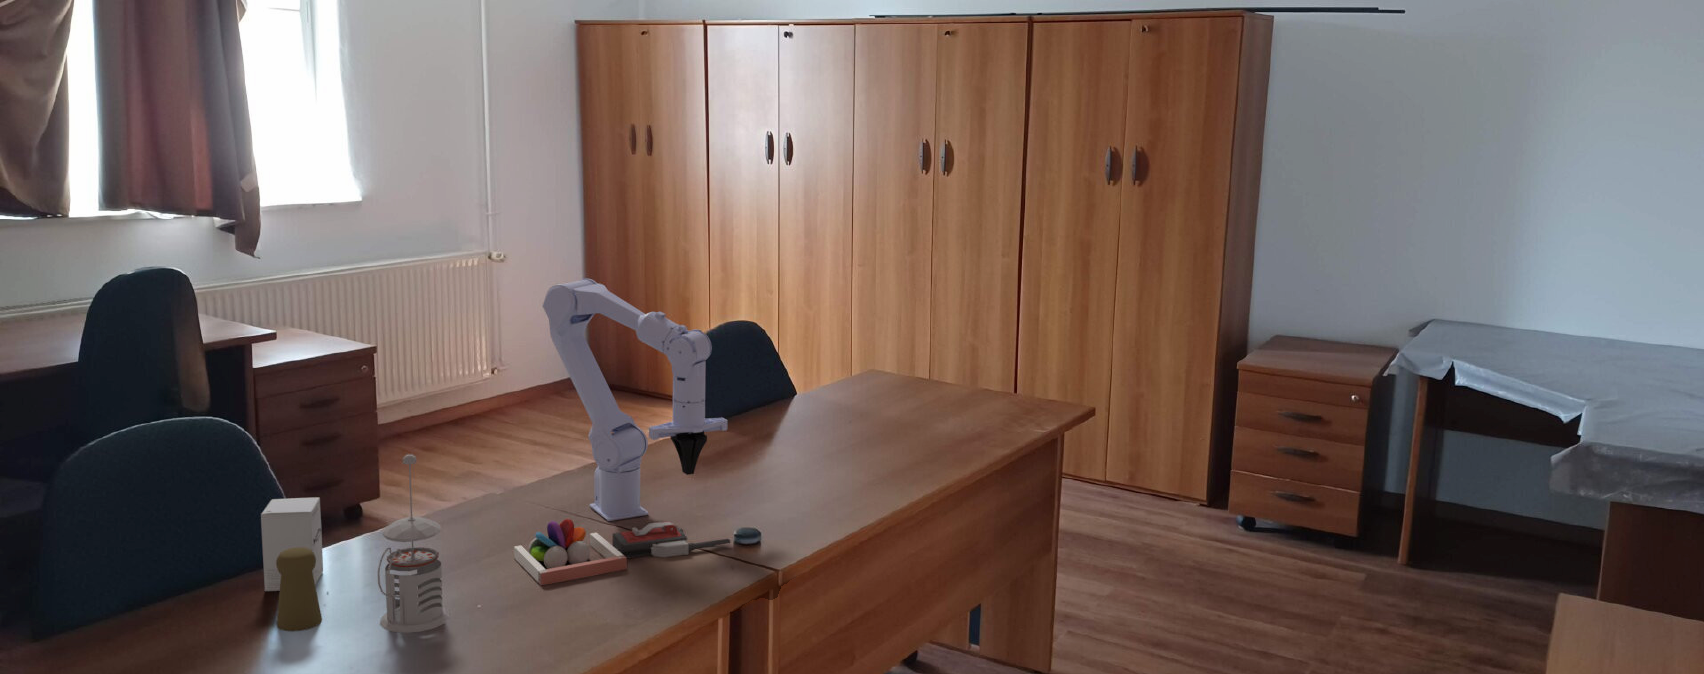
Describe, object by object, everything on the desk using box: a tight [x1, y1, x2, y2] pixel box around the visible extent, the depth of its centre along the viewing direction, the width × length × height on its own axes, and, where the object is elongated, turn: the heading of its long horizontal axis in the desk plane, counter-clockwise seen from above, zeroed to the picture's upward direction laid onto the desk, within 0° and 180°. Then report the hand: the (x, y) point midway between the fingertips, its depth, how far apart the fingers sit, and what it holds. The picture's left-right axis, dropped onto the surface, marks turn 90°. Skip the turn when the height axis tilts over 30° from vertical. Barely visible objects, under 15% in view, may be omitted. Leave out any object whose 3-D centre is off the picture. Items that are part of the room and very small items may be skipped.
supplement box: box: [260, 497, 324, 592], centre depth 193 cm, size 7×7×13 cm
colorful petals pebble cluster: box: [527, 518, 591, 569], centre depth 205 cm, size 8×10×7 cm
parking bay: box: [513, 532, 628, 586], centre depth 205 cm, size 13×14×2 cm
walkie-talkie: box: [612, 521, 731, 559], centre depth 214 cm, size 9×4×20 cm
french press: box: [377, 454, 451, 634], centre depth 179 cm, size 10×12×25 cm
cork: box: [276, 547, 323, 632], centre depth 179 cm, size 6×6×11 cm
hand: (688, 472), depth 223 cm, fingers closed
